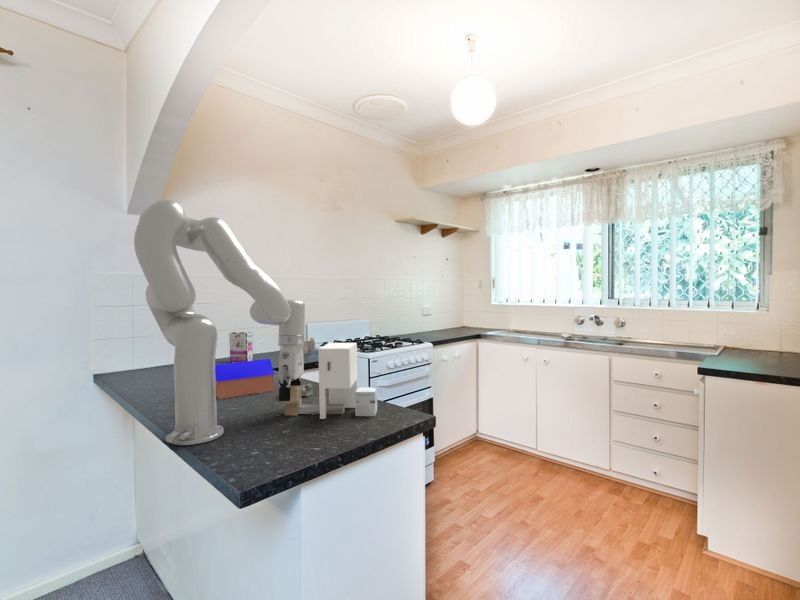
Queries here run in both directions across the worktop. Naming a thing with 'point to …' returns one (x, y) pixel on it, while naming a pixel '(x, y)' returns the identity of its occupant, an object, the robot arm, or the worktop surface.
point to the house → (244, 378)
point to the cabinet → (337, 375)
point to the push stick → (307, 405)
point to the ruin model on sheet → (309, 346)
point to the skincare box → (366, 401)
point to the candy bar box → (241, 346)
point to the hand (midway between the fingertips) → (290, 397)
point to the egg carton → (306, 390)
